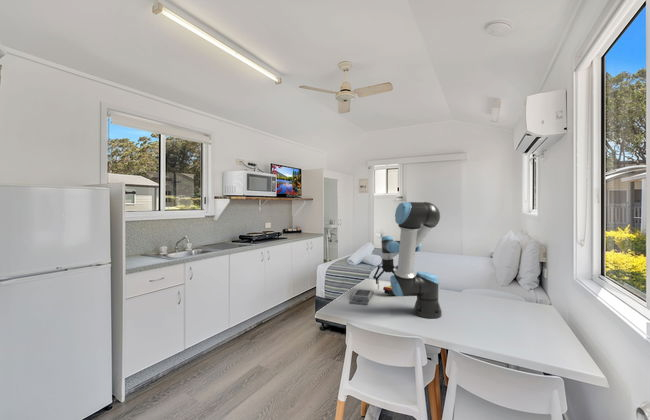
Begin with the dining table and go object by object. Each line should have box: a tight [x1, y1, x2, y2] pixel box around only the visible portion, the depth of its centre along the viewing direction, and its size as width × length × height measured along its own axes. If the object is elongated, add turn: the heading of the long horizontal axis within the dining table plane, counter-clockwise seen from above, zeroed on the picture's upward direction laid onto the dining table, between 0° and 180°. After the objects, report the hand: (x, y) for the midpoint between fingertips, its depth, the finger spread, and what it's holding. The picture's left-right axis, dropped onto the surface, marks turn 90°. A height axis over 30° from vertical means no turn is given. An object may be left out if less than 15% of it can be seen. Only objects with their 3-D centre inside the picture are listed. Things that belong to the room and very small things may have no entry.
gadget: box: [382, 285, 397, 297], centre depth 195 cm, size 6×13×6 cm, turn 111°
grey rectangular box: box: [349, 288, 374, 306], centre depth 190 cm, size 28×11×3 cm, turn 162°
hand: (388, 289), depth 195 cm, fingers open, 13 cm apart
